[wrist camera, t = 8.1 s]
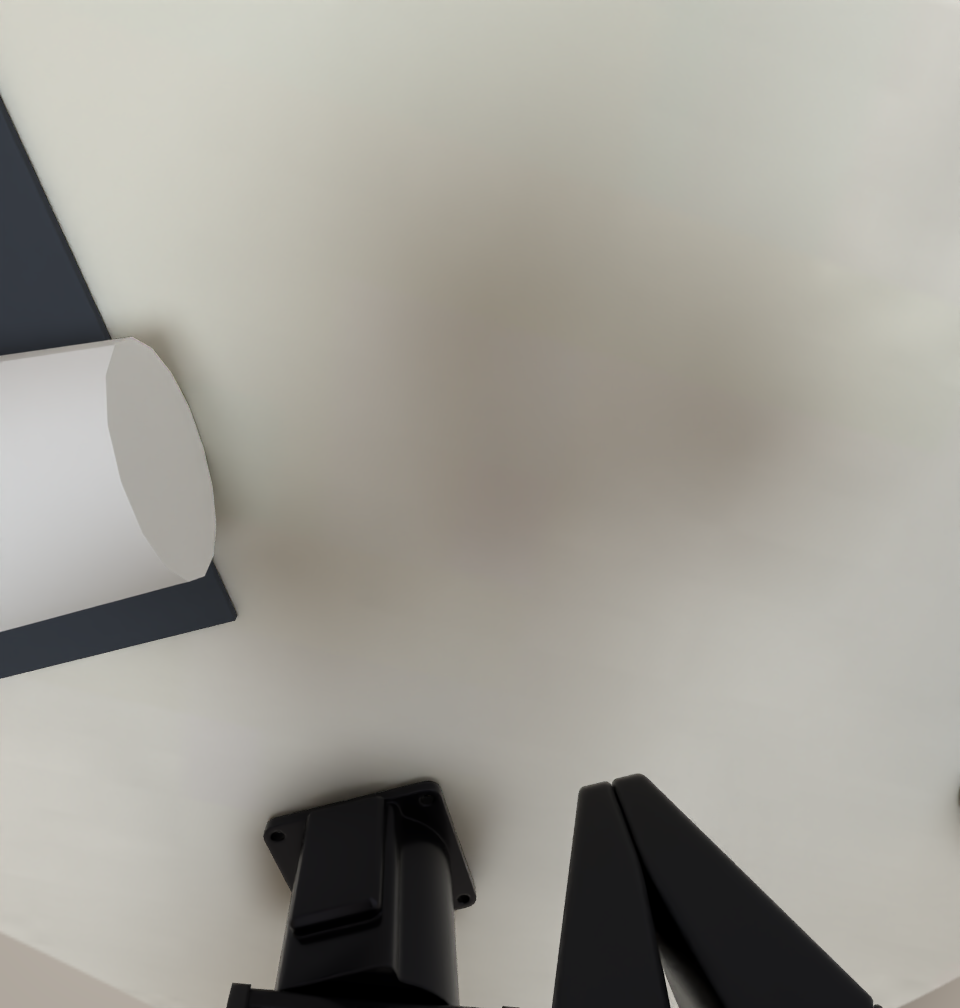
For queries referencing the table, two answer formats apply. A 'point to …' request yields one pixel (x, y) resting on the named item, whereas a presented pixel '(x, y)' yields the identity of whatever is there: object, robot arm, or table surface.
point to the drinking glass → (97, 480)
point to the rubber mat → (57, 323)
